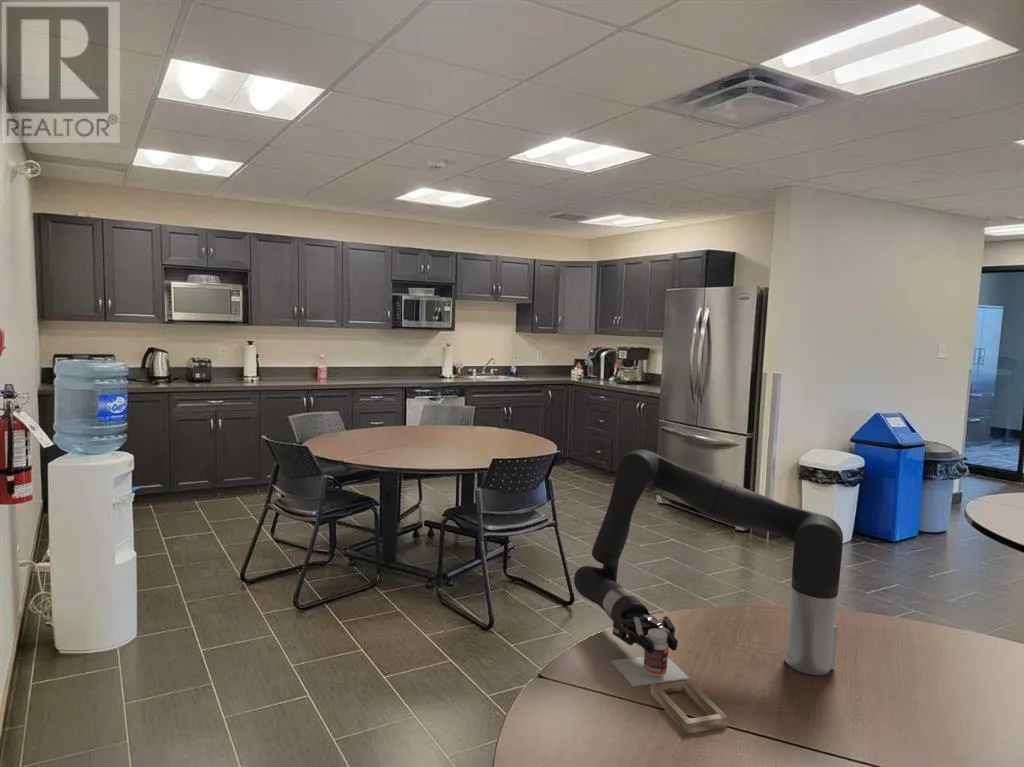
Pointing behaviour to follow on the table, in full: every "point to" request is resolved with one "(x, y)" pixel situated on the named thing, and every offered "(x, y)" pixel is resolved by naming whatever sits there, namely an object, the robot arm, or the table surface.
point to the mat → (639, 677)
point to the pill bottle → (657, 653)
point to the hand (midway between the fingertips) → (663, 647)
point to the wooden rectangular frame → (700, 723)
